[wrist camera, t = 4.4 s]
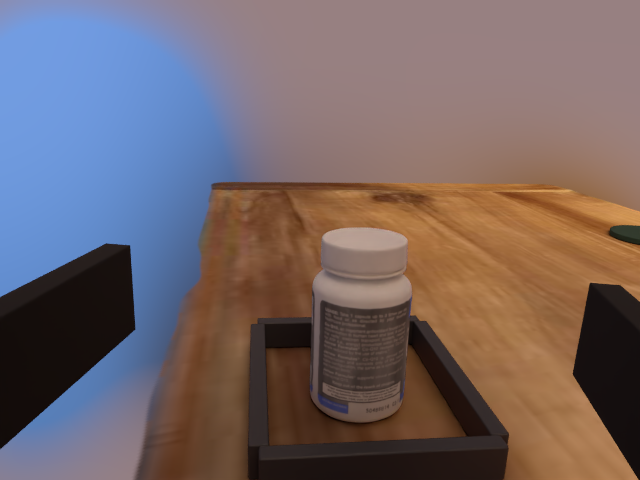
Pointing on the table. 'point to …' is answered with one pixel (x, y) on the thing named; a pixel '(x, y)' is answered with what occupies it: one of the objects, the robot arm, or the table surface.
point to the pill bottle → (360, 324)
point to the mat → (626, 233)
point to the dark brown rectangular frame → (377, 456)
